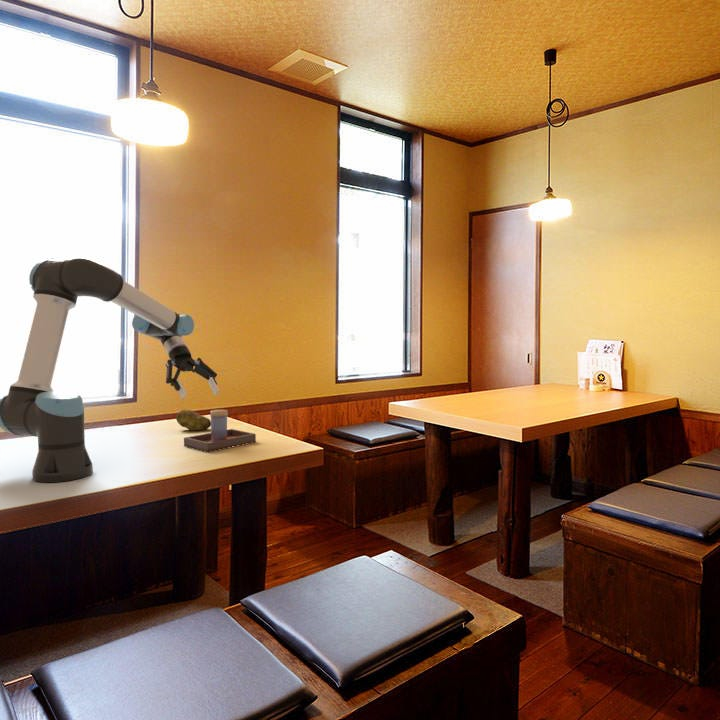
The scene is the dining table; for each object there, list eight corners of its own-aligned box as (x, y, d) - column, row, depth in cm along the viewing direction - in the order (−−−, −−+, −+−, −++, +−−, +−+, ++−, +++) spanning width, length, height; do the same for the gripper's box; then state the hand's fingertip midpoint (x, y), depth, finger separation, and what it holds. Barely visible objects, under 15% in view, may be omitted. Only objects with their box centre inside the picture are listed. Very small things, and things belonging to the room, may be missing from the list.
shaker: (217, 444, 195) (216, 412, 194) (207, 442, 199) (206, 410, 198) (230, 441, 200) (230, 410, 199) (220, 439, 203) (220, 408, 202)
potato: (202, 432, 219) (201, 412, 219) (173, 431, 223) (172, 411, 222) (213, 428, 227) (212, 409, 227) (185, 427, 231) (184, 407, 230)
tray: (207, 452, 187) (207, 443, 187) (184, 446, 197) (183, 437, 196) (255, 442, 202) (255, 433, 202) (231, 436, 212) (231, 428, 211)
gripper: (202, 356, 225) (225, 397, 216) (143, 359, 206) (165, 405, 198) (210, 343, 221) (234, 384, 213) (150, 345, 202) (173, 391, 194)
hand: (201, 394), depth 205 cm, fingers open, 13 cm apart
